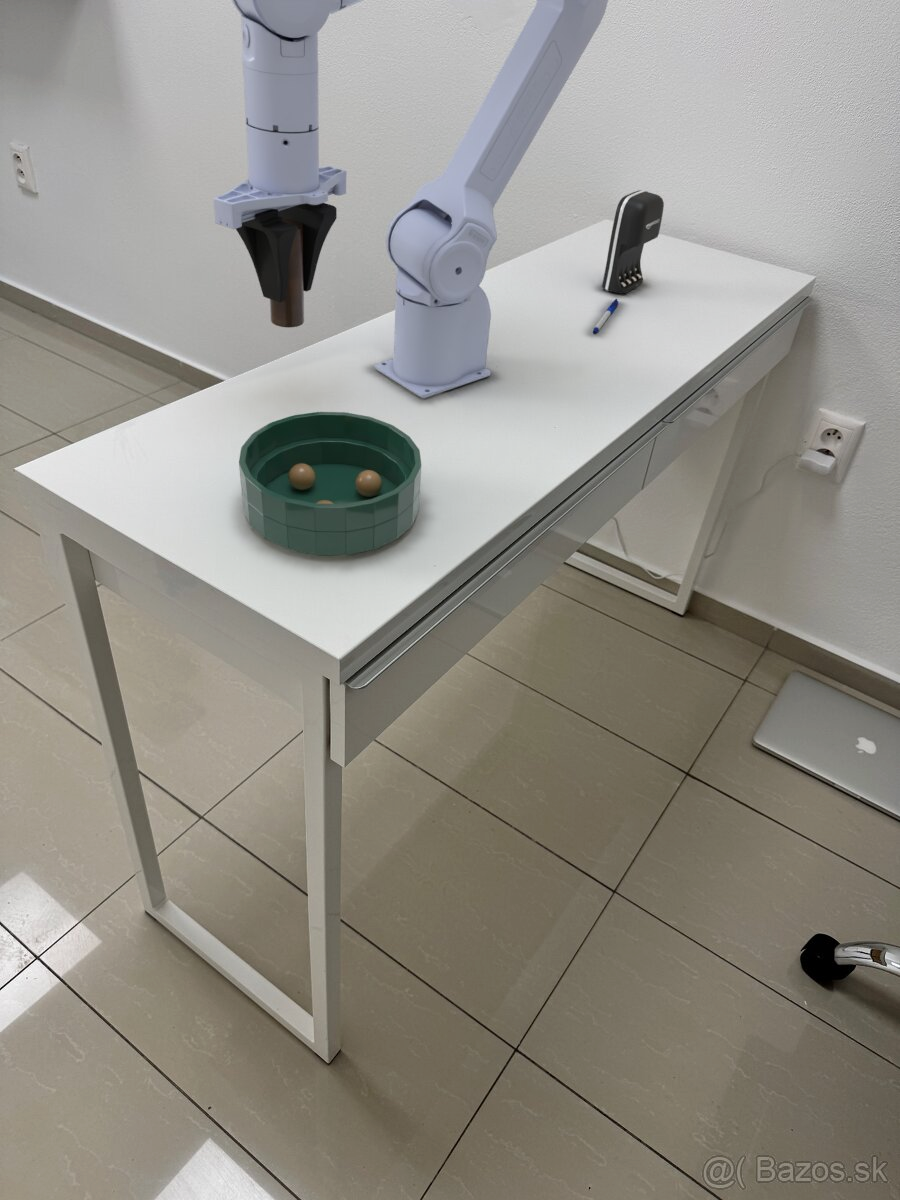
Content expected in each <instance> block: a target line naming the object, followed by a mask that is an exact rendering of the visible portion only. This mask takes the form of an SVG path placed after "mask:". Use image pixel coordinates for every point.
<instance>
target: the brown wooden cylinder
mask: <svg viewBox="0 0 900 1200" xmlns="http://www.w3.org/2000/svg"><path fill="white" fill-rule="evenodd" d="M282 222H286V223H289V224H292V225H295V226H297V227H298V230H297V232H296V235H295V237H294V240H293V244H292V248H291V252H290V258H289V266H288V290H287V296H286V300H285V301H283V302H277V301H274V300H271V299H269V307H270V309H269V310H270V311H269V312H270V322H271V324H273V325H274V326H277V327H281V328H289V329H290V328H297V327H300V326H302V325H303V324H304V323H305V291H304V277H303V225H302V224H301V223H300V222H297V221H294V220H289V219H282Z"/></svg>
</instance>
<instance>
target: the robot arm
mask: <svg viewBox="0 0 900 1200" xmlns="http://www.w3.org/2000/svg"><path fill="white" fill-rule="evenodd" d="M363 1H364V0H231V2H232V4H233V6H234V7H235V9H236V10H237V12H238V13H239V14H240V21H241V22H240V23H241V41H242V42H241V43H242V44H241V45H242V54H241V59H242V60H241V61H242V78H243V97H244V99H243V100H244V117H245V136H246V137H245V138H246V153H247V154H246V155H247V157H246V158H247V174H248V178H247V179H246V180H244V181H242V182H241V183H239V184H238V185H236V186H235V187H234V188H232V189H230V190H229V191H228V192H226V193H223V194H220V195H219V196H215V197H213V198H212V199H213V211H214V223H215V224H217V225H219V226H222V227H226V228H229V229H232V230H236V232H237V234H238V235H239V236H240V237H239V238H241V240H242V242H243V244H244V246H245V248H246V250H247V252H248V255H249V257H250V259H251V262H252V264H253V267H254V269H255V274H256V276H257V280H258V282H259V286H260V290H261V293H262V296H263V297H264V298H265V299H269V300H270V299H271V300H274V301H277V302H283V301H285V300H286V296H287V290H288V266H289V258H290V252H291V248H292V244H293V240H294V237H295V235H296V232H297V230H298V227H297V226H295V225H292V224H289V223H286V222H282V219H289V220H294V221H297V222H300V223H301V224H302V225H303V277H304V292H306V293H307V292H309V291H311V290H312V286H313V283H314V278H315V274H316V270H317V265H318V262H319V259H320V254H321V251H322V249H323V246H324V243H325V241H326V238H327V237H328V235H329V232H330V231H331V228H332V227H333V225H334V224H335V222H336V221H337V218H338V217H337V216H338V215H337V213H338V211H337V209H338V208H337V207H336V206H334V205H332V204H329V203H327V202H328V201H329V196H332V195H334V196H344V195H346V194H347V170H344V169H341V168H337V167H334V166H330V165H327V166H324V167H320V146H319V145H320V141H319V140H320V133H319V131H320V130H319V129H320V127H319V42H318V41H319V40H318V39H319V32H320V31H321V30H322V28H323V27H324V25H325V24H326V22H327V20H328V18H329V16H330V15H331V14H335V13H337V12H339V11H342V10H344V9H346V8H348V7H351V6H354V5H355V4H358V3H360V2H363ZM608 2H609V0H536V2H535V6H534V8H533V9H532V11H531V13H530V15H529V17H528V18H527V21H526V22H525V24H524V26H523V28H522V29H521V31H520V33H519V35H518V37H517V39H516V41H515V42H514V44H513V46H512V48H511V50H510V51H509V54H508V55H507V56H506V59H505V61H504V62H503V65H502V66H501V68H500V70H499V71H498V73H497V75H496V77H495V79H494V81H493V82H492V84H491V86H490V88H489V90H488V92H487V93H486V95H485V97H484V99H483V101H482V102H481V104H480V106H479V108H478V110H477V112H476V114H475V115H474V117H473V119H472V121H471V123H470V124H469V126H468V128H467V130H466V132H465V133H464V135H463V137H462V139H461V141H460V142H459V145H458V146H457V148H456V150H455V152H454V153H453V155H452V157H451V159H450V161H449V163H448V164H447V166H446V168H445V170H444V172H443V173H442V174H441V175H440V176H438V177H436V178H434V179H432V180H430V181H428V182H426V183H425V184H423V185H422V186H420V187H419V188H418V190H417V192H416V194H415V196H414V197H413V199H412V200H411V201H410V203H409V204H408V205H406V206H405V207H404V208H402V209H401V210H400V211H398V213H396V214H395V216H394V217H393V218H392V220H391V222H390V223H389V225H388V228H387V230H386V235H385V249H386V253H387V255H388V257H389V259H390V261H391V262H392V263H393V264H394V266H396V280H395V305H394V308H395V309H394V333H393V334H394V335H393V358H390V359H388V360H385V361H381V362H377V363H376V364H375V370H376V371H378V372H380V373H381V374H382V375H385V376H386V377H387V378H389V379H391V380H392V381H394V382H395V383H396V384H399V385H400V386H402V387H403V388H405V389H407V390H408V391H410V392H412V393H413V394H414V395H416V396H417V397H419V398H421V399H426V398H429V397H432V396H435V395H438V394H440V393H444V392H447V391H450V390H452V389H456V388H458V387H462V386H465V385H467V384H470V383H472V382H476V381H479V380H481V379H484V378H488V377H490V376H491V370H490V369H489V368H486V366H487V356H488V347H489V346H488V345H489V339H490V338H489V337H490V329H491V319H492V312H491V305H490V302H489V298H488V296H487V293H486V292H485V290H484V289H483V288H482V287H481V286H480V285H481V284H482V282H483V280H484V277H485V275H486V270H487V264H488V259H489V255H490V253H491V250H492V249H493V247H494V245H495V243H496V242H497V239H498V234H497V233H498V232H497V227H496V220H495V214H494V209H495V206H496V204H497V202H498V201H499V199H500V198H501V196H502V194H503V192H504V191H505V189H506V187H507V185H508V184H509V182H510V180H511V179H512V177H513V175H514V174H515V172H516V170H517V168H518V167H519V165H520V163H521V162H522V160H523V158H524V156H525V154H526V153H527V151H528V149H529V148H530V145H531V144H532V142H533V140H535V139H534V138H535V137H536V135H537V133H538V132H539V130H540V128H541V126H542V125H543V123H544V122H545V119H546V118H547V117H548V115H549V113H550V111H551V109H552V108H553V107H554V104H555V103H556V101H557V99H558V97H559V95H560V93H561V92H562V90H563V89H564V87H565V85H566V84H567V82H568V80H569V78H570V76H571V74H572V73H573V71H574V69H576V66H577V64H578V62H579V61H580V59H581V58H582V55H583V54H584V52H585V51H586V49H587V47H588V45H589V43H590V42H591V40H592V38H593V37H594V35H595V33H596V31H597V30H598V28H599V26H600V24H601V23H602V20H603V18H604V16H605V14H606V13H605V12H606V10H607V7H608Z"/></svg>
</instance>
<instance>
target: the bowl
mask: <svg viewBox="0 0 900 1200" xmlns="http://www.w3.org/2000/svg"><path fill="white" fill-rule="evenodd" d="M300 463H303V464H307V465H309V466H310V467H311V468H312V469H313V470H314V472H315V482H314V484H313V486H312V487H311V488H309V489H307V490H297V489H295V488H294V487H293V486H292V485H291V484H290V482H289V479H288V474H289V471H290V469H291V468H292V467H293V466H294V465H296V464H300ZM238 468H239V469H238V470H239V478H240V489H241V498H242V499H241V500H242V509H243V512H244V514H245V516H246V519H247V522H248V524H249V526H250V527H251V528H253V529H254V530H255V531H256V532H257V534H259V535H261V537H263V539H265V540H267V541H269V542H271V543H273V544H275V545H277V546H280V547H281V548H284V549H286V550H290V551H295V552H298V553H303V554H307V555H312V556H313V555H314V556H323V557H341V556H343V557H344V556H351V555H356V554H362V553H366V552H368V551H373V550H376V549H378V548H380V547H382V546H385V545H387V544H390V543H392V542H394V541H396V540H397V539H399V538H400V537H401V536H402V535H404V534H405V533H406V532H407V531H408V530H409V529H410V528H411V527H412V526H413V524H414V521H415V520H416V518H417V515H418V513H419V509H420V495H421V479H422V477H421V476H422V459H421V451H420V449H419V447H418V446H417V444H416V443H415V442H414V440H413V439H412V438H411V436H410V435H408V434H406V432H404V431H402V430H401V429H399V427H396V426H395V425H393V424H391V423H388V422H385V421H382V420H380V419H378V418H374V417H372V416H367V415H362V414H357V413H352V412H345V411H314V412H307V413H301V414H299V413H298V414H294V415H290V416H286V417H284V418H280V419H278V420H274V421H271V422H269V423H267V424H266V425H264V426H262V427H261V428H259V429H257V430H256V431H254V432H253V433H252V434H251V435H250V436H249V437H248V439H247V440H246V441H245V442H244V443H243V445H242V446H241V447H240V453H239V459H238ZM365 470H372V471H375V472H376V473H378V474H379V476H380V477H381V480H382V488H381V490H380V492H379V493H378V494H377V495H375V496H373V497H365V496H363V495H361V494H360V493H359V492H358V491H357V489H356V486H355V481H356V478H357V476H358V475H359V474H360V473H361V472H363V471H365ZM321 500H328V501H331V502H333V503H334V504H315V503H317V502H319V501H321Z"/></svg>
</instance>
